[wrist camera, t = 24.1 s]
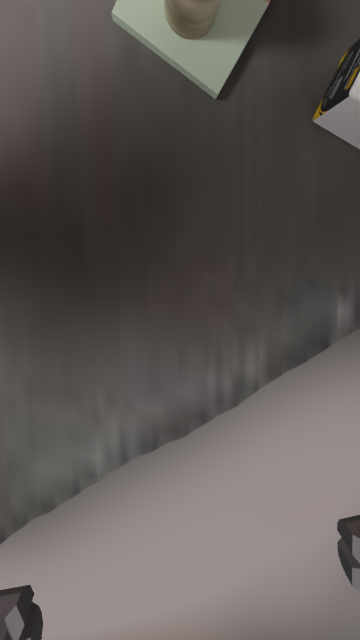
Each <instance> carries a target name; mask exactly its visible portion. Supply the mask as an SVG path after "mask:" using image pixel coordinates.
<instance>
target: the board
mask: <svg viewBox="0 0 360 640" xmlns="http://www.w3.org/2000/svg"><path fill="white" fill-rule="evenodd" d="M270 1H271V0H222V1H221V4H220V7H219V10H218V13H217V16H216V19H215V22H214V24H213V26H212V28H211V29H210V31H209V32H208V33H207V34H206V35H205V36H203V37H201V38H199V39H196V40H188V39H184V38H182V37H180V36H178V35H177V34H176V33H175V32H174V31H173V30H172V29H171V27H170V26H169V24H168V22H167V19H166V16H165V11H164V0H117V1H116V4H115V6H114V8H113V10H112V18H113V21H114V22H115V23H117V24H118V25H119V26H121V27H122V28H123V29H124V30H126V31H127V32H128V33H130V34H131V35H132V36H134V37H135V38H136V39H137V40H139V41H140V42H141V43H143V44H144V45H145V46H147V47H148V48H149V49H151V50H152V51H153V52H154V53H156V54H157V55H158V56H160V57H161V58H162V59H164V60H165V61H166V62H167V63H169V64H170V65H171V66H173V67H174V68H175V69H177V70H178V71H179V72H180V73H182V74H183V75H184V76H186V77H187V78H188V79H190V80H191V81H192V82H193V83H195V84H196V85H197V86H199V87H200V88H201V89H203V90H204V91H205V92H207V93H208V94H209V95H210V96H212V97H213V98H214V99H216V98H217V96H218V94H219V93H220V91H221V89H222V87H223V85H224V84H225V82H226V80H227V78H228V76H229V75H230V73H231V71H232V69H233V68H234V66H235V64H236V62H237V60H238V59H239V57H240V55H241V53H242V51H243V50H244V48H245V46H246V44H247V43H248V41H249V39H250V37H251V35H252V34H253V32H254V30H255V28H256V26H257V25H258V23H259V21H260V19H261V17H262V16H263V14H264V12H265V10H266V9H267V7H268V5H269V3H270Z"/></svg>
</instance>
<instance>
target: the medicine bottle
mask: <svg viewBox="0 0 360 640" xmlns="http://www.w3.org/2000/svg"><path fill="white" fill-rule="evenodd" d="M313 122H314V123H316V124H318V125H319V126H321V127H323V128H324V129H326V130H328V131H329V132H331V133H333V134H334V135H336V136H338V137H339V138H341V139H343V140H344V141H346V142H348V143H349V144H351V145H353V146H354V147H356V148H358V149H359V150H360V39H359V40H358V41H357V42H356V43H355V44H354V45H353V46H352V47H351V48H349V49H348V50H347V51H346V52H345V53H344V55H343V57H342V59H341V61H340V63H339V65H338V67H337V69H336V71H335V74H334V76H333V78H332V80H331V82H330V84H329V86H328V88H327V90H326V92H325V94H324V96H323V98H322V100H321V102H320V104H319V106H318V109H317V111H316V113H315V115H314V117H313Z"/></svg>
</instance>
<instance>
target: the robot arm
mask: <svg viewBox="0 0 360 640" xmlns="http://www.w3.org/2000/svg"><path fill="white" fill-rule="evenodd" d="M337 530H338V532H339V534H340V535H341V539H340V540H339V541H338V543H337V544H338V555H339V558H340V562H341V565H342V567H343V569H344V571H345V574H346V576H347V578H348V579H349V581H350V583H351V585H352V586H353V587H354V588H356V589H357V590H358V591H360V515H357V516H352V517H348V518H344V519H339V521H338V523H337ZM33 596H34V592H33V590H32V588H31V586H30V585H26V586H21V587H15V588H10V589H5V590H0V640H41V639H42V628H43V619H42V612H41V609H40V607H39V606H38V605H36V604H35V603H33V602H32V599H33Z"/></svg>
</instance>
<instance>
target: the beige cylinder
mask: <svg viewBox="0 0 360 640" xmlns="http://www.w3.org/2000/svg"><path fill="white" fill-rule="evenodd" d="M221 1H222V0H164V11H165V16H166V19H167V22H168V24H169V26H170V27H171V29H172V30H173V31H174V32H175V33H176V34H177V35H178V36H180V37H182V38H184V39H188V40H196V39H199V38H201V37H203V36H205V35H206V34H207V33H208V32H209V31H210V29H211V28H212V26H213V24H214V22H215V19H216V16H217V13H218V10H219V7H220V4H221Z"/></svg>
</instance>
